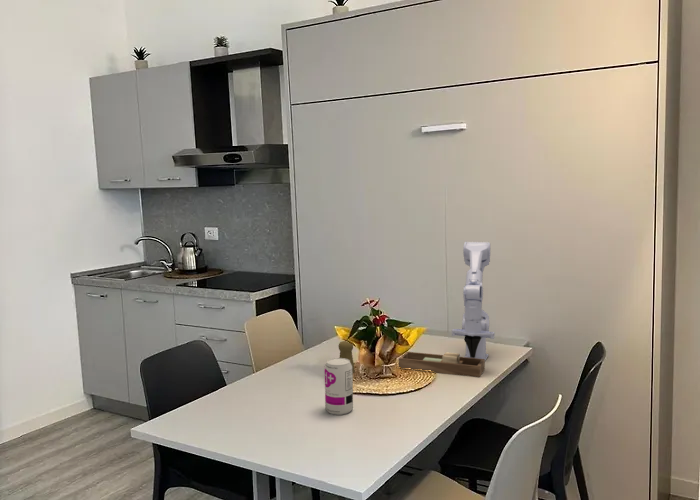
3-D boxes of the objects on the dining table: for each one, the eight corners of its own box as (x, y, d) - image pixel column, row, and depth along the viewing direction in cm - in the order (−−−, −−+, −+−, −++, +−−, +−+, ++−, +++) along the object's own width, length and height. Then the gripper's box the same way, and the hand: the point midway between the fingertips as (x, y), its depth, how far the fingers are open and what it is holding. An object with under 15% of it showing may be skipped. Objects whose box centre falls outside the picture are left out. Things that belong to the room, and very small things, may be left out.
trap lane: (406, 361, 232) (406, 351, 232) (484, 369, 221) (484, 359, 221) (398, 368, 223) (398, 358, 223) (479, 377, 212) (479, 366, 212)
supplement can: (333, 417, 180) (331, 367, 178) (321, 408, 187) (319, 360, 185) (357, 412, 184) (356, 362, 182) (345, 403, 191) (344, 355, 189)
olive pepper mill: (355, 369, 224) (355, 339, 223) (354, 374, 218) (353, 344, 217) (338, 369, 224) (338, 339, 223) (336, 374, 219) (336, 343, 217)
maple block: (445, 360, 224) (445, 352, 223) (459, 361, 222) (459, 353, 222) (442, 364, 219) (442, 356, 219) (456, 365, 217) (456, 357, 217)
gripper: (449, 319, 215) (449, 358, 216) (492, 322, 209) (491, 362, 211) (454, 315, 221) (454, 352, 223) (495, 318, 216) (495, 356, 217)
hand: (472, 356), depth 217 cm, fingers closed
